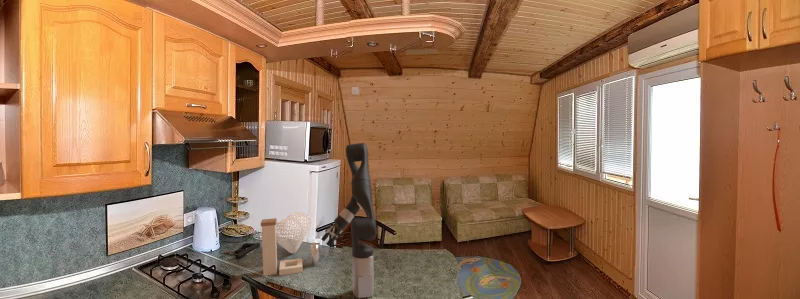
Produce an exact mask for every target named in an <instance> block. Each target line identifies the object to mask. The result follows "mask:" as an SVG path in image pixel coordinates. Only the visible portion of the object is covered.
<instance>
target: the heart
mask: <svg viewBox="0 0 800 299" xmlns="http://www.w3.org/2000/svg"><path fill="white" fill-rule="evenodd" d="M311 226H312V221H311V218H310V216H309V215H308V214H306V213H304V212H300V211H297V212H295V211H294V212H293V213H290V214H289V215H288V216H287V217H285V218H283V219H280V220H279V221H277V222H276V243H278V245H280V246H281V247H282V248H283V249H285V250H286V251H287V252H288V253H291V254H296V252H297V251H298V250H299V248H300V246H301V245H302V243H303V241H304V240H305V238H306V236H307V234H308V233H309V231H310V229H311Z"/></svg>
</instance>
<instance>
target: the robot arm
mask: <svg viewBox="0 0 800 299" xmlns="http://www.w3.org/2000/svg"><path fill="white" fill-rule="evenodd" d="M345 157H346V160H347V163H348V166H349V169H350V171H351V175H352V178H351V179H352V180H351V184H350V185H351V195H352V196H351V198H350V201H349V203H348V204H347V205H346V206H345V208H343V209H342V210H341V212H340V213H339V214H338V215H337V216H336V218H335V219H334V220H333V222H334V223H333V222H331V223H330V224H329V225H328V226H327V228H326V229H325V230H324V232H325V233H324V234H323V236H322V237H321V238H320V239H321V241H323V242H325V241H326V240H327V239H328V237H329V236H330V235H331V237H330V238H329V239H328V241H327V242H325V243H326V245H327V246H328V247H330V246H331V245H332V244H333V243H334V241H338V240H339V239H340V237H341V236H342V235H343V233H344V230H345V229H346V228H347V227H348V226H349V224H350V229H351V230H350V232H351V246H352V248H351V249H352V250H351V252H352V253H351V254H352V255H351V256H352V257H351V260H352V262H351V263H352V264H351V265H352V295H353V296H354V297H356V298H357V299H365V298H371V297H373V294H374V292H375V285H374V284H375V280H374V272H375V270H374V269H375V267H374V264H375V263H374V248H373V246H372V245H370V244H366V243H363V242H362V241H365V240H373V239H375V238H376V237H377V232H378V230H377V222H376V216H375V211H374V206H373V205H374V204H373V195H372V194H373V193H372V183H371V176H370V170H369V167H370V166H369V149H368V145H366V143H363V142H361V143H360V142H359V143H351V144H347V145H346V147H345ZM356 162H357V163H358V162H360V166H358V165H357V164H356ZM361 208H362V210H363V211H364V213H365V216H366V217H363V218H362V217H360V218H359V217H358V218H355V216H356V214H357V213H358V212H359V211H360V209H361Z"/></svg>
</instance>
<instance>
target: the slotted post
mask: <svg viewBox="0 0 800 299" xmlns="http://www.w3.org/2000/svg"><path fill="white" fill-rule="evenodd" d="M277 220H278V219H277V218H274V217H273V218H264V219H261V221H260V227H261V236H262V237H261V242H262V244H261V245H262V268H263V276H270V275H277V272H278V273H279V274H278V275H279V276H285V275H293V274H300V273H302V274H303V272H304V271H303V269H304V268H303V258H294V259H285V260H280V261H279V262H280V263H279V269H278V249H277V241H276V235H277V230H276V225H277V224H276V223H277V222H278V221H277ZM278 270H279V271H278Z"/></svg>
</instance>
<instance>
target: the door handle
mask: <svg viewBox="0 0 800 299" xmlns="http://www.w3.org/2000/svg"><path fill="white" fill-rule="evenodd" d="M260 247H261V243H260V242H255V243H253V242H251V243H250V242H246V243H245V242H244V243H242V246H241V247H240V248H238V249H235V250H224V251H223V254H224V253H232V254H231V255H233V254H237V255H235V259H236V260H239V258H240V259H241V258H243V257H245V256H248V255H250V254H251V253H253V252H255V251H256V250H257V249H258V248H260ZM246 248H247V249H246ZM254 250H255V251H254ZM249 253H250V254H249Z"/></svg>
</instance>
